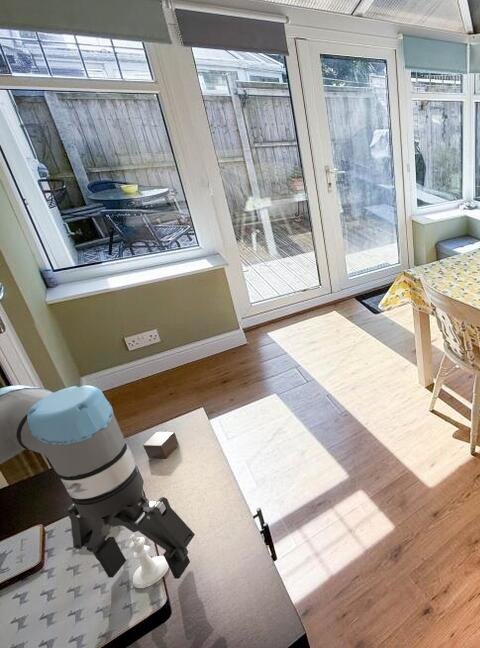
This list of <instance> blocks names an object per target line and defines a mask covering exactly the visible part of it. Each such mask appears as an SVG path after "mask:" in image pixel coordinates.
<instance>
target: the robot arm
mask: <svg viewBox="0 0 480 648" xmlns="http://www.w3.org/2000/svg"><path fill="white" fill-rule="evenodd" d="M25 450H26V451H30V452H33V453H34V452H35V453H38V454H42V455H43V456H45V457H46V458H47V459H48V461H49V463H50V464H51V466H52V468H53V469H54V471H55V473H56V475H57V476H58V477H59V479H60V480H61V482H62V484H63V485H64V488H65V490H66V492H67V493H68V495H69V496H70V499H71V501H72V504H71V505H70V506H69V507H68V508H67V509H66V510H65V513H66V515H67V516H68V518H69V519H70V526H71V534H72V545H73V548H74V549H76V550H82V549H83V548H86V551H88V552H90V553H93V556H94V557H95V559H96V560H98V562H99V563H100V564H99V565H100V566H101V567H102V569H103V570H104V572H105V574H106V575H107V577H108V578H114V577H115V576H116V574H117V573H118V572H119V571H120V569H122V567H123V566H124V564H125V563H126V562H127V558H126V557H125V555H124V553H123V552H122V549H121V548H120V546H119V544H118V543H117V541H116V538H115V537H114V536H109V535H110V534H111V531H110V530H111V528H112V527H118V526H121V527H124V528H125V529H127V530H129V531H130V532H131V533H137V532H138V533H140V534H142V535H143V536H144V537H146V538H147V539H149V540H150V541H152V542H153V543H154V544H155V545H158V546H159V547H160V548H161V549H163V550H164V551H165V552H163V555H162V556H164V557H165V559H166V561H167V563H168V566H169V568H168V569H169V570H170V572H171V574H172V577H173V578H174V579H176V580H177V579H180V578H181V577H182V575H183V574H184V572H185V571H186V569H187V568H188V566H189V565H190V563H191V560H190V558H189V555H188V554H189V550H188V548H187V547H188V546H189V544H190V543H191V541H192V540H193V539H194V537H195V535H196V534H195V532H194V531H193V530H192V529H191V528H190V527H189V526H188V524H186V522H185V521H184V520H183V519H182V518H181V517H180V516H179V515H178V514H177V513H176V511H175V510H174V509H173V508H172V507H171V505H170V502H169V500H168V498H167V497H165V496H161V497H160V498H158V500H157V501H149V499H148V498H147V497H146V496H145V495H143V489H144V478H143V476H142V473H141V471H140V469H139V467H138V465H137V464H136V463H137V462H136V459H135V457H134V455H133V453H132V451H131V449H130V447H129V444H128V443H127V441H126V439H125V436H124V435H123V432H122V430H121V428H120V425H119V422H118V421H117V418H116V416H115V413H114V409H113V407H112V405H111V403H110V401H108V399H107V398H106V396H105V395H104V392H102V390H101V389H100V388H98V387H97V386H93V385H87V384H86V385H82V386H77V385H75V386H70V387H69V386H68V387H65V388H61V389H60V390H57V391H54V392H53V391H51V390H49V389H46V388H45V387H39V386H32V385H31V386H28V385H18V384H17V385H9V386H4V387H1V388H0V465H2V464H4V463H5V462H7V461H8V460H10V459H12V458H13V457H15V456H17V455H18V454H20V453H22V452H23V451H25ZM143 514H144V515H143ZM142 515H143V516H142ZM141 517H142V518H141ZM94 518H96V519H95V521H94ZM139 519H140V520H139ZM138 520H139V521H138ZM94 522H95V523H94Z"/></svg>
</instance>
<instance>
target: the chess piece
mask: <svg viewBox="0 0 480 648" xmlns="http://www.w3.org/2000/svg"><path fill="white" fill-rule="evenodd" d="M128 538H129V540H130V541H131V542H130V544H129V545H128V548H129V550H130V551H132V552H133V555H132V556H133V557H132V558H133V559H134V560H139V562H140V566H139V567H138V568H137V569H136V570H135V572H134V573H133V575H132V584H133V586H134V587H135V588H137V589H145V588H148V587H151V586H153V585H154V584H156V583H157V582H158V581H160V580H161V579H162V578H163V577H164V576H165V575H166V573H167V572H168V571H169V569H170V568H169V566H168V563H167V561H166V559H165V557H164V555H157V556H153V557H151V556H150V555H149V552H150V550H151V547H150V546H149V545H145V543H146V539H145V537H143V536H141V537H139V536H137V535H136V534H135V533H132V534H131V535H130V536H128Z"/></svg>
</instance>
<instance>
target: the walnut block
mask: <svg viewBox="0 0 480 648" xmlns="http://www.w3.org/2000/svg"><path fill="white" fill-rule="evenodd" d="M179 445H180V443H179V441H178V438H177V435H176V433H175V431H156V432H155V433H154V434H153V435H152V436H150V437H149V439H148V440H147V441H146V442H145V443H143V444H142V446H143V449H144V451H145V453H146V455H147V458H148V459H159V460H160V459H161V460H164V459H165V460H167V459H168V458H169V457H170V456H171V455H172V453H173V452H174V451H175V450H176V449H177V448H178V447H179Z"/></svg>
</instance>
